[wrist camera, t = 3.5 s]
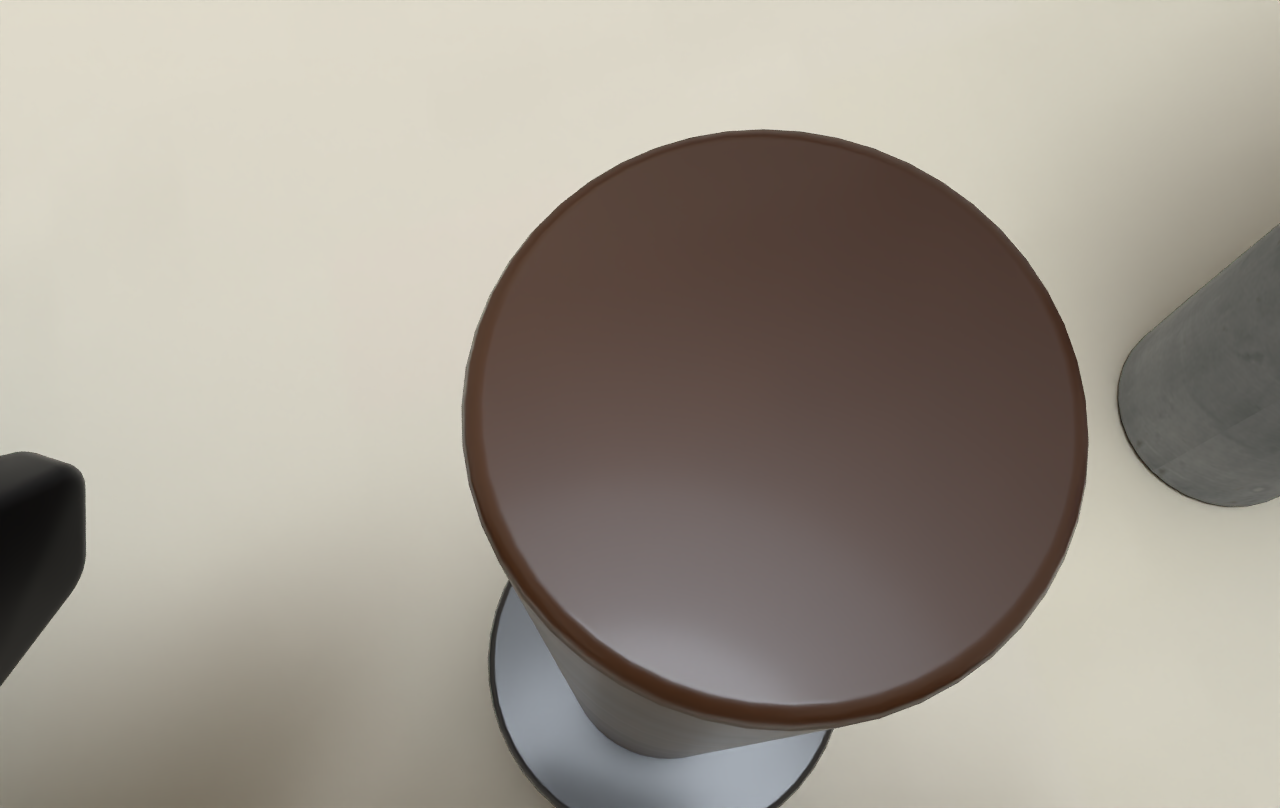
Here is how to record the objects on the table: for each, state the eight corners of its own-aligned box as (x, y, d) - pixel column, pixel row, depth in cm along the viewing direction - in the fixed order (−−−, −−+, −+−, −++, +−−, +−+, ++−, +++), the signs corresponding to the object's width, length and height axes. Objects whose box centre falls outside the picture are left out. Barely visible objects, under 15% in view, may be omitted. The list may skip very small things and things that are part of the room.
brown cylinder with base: (658, 893, 15) (832, 1409, 3) (460, 684, 16) (-54, 401, 4) (848, 680, 16) (1581, 395, 4) (652, 493, 17) (746, -235, 5)
